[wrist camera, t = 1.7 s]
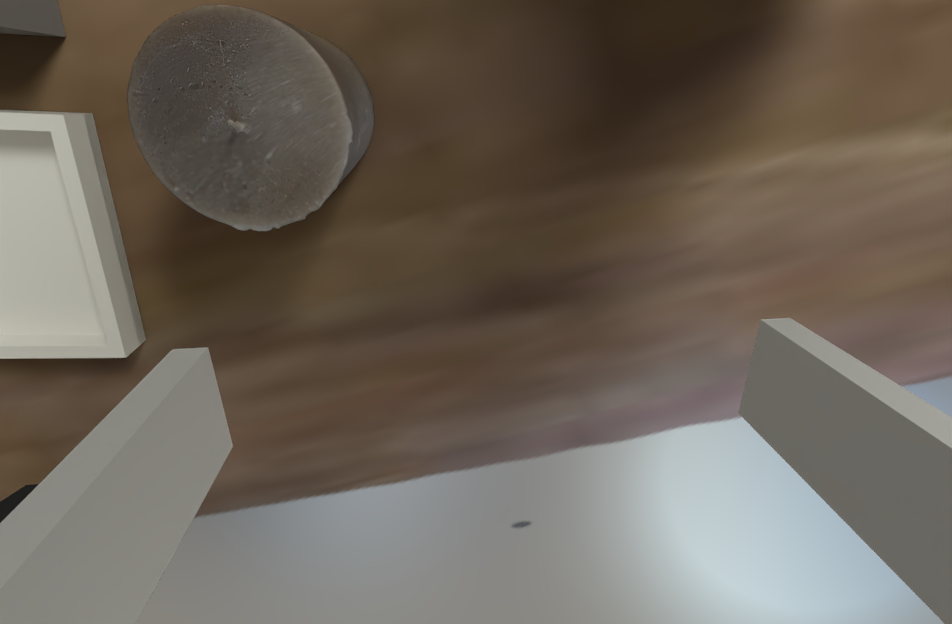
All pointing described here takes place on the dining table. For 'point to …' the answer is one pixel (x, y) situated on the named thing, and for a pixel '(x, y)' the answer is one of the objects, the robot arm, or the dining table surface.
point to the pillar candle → (247, 115)
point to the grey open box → (31, 18)
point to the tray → (61, 243)
